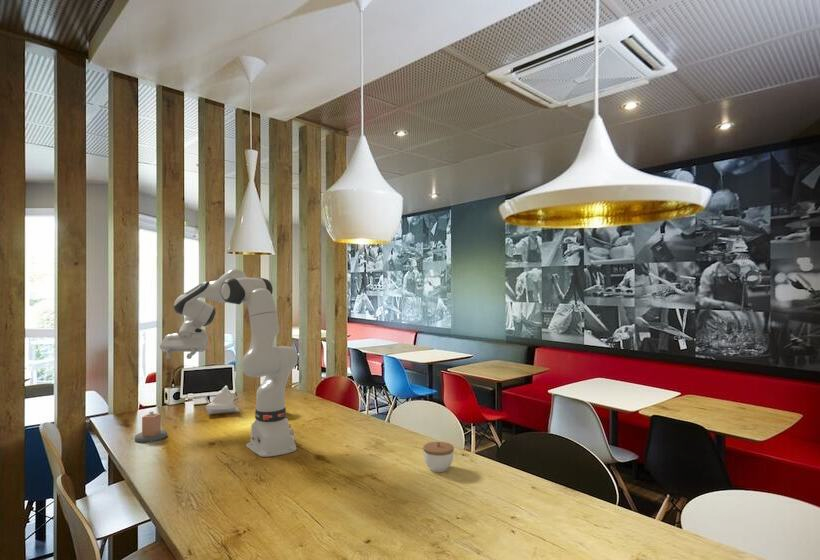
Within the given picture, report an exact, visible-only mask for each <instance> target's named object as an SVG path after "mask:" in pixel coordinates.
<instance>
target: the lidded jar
mask: <svg viewBox="0 0 820 560" xmlns="http://www.w3.org/2000/svg"><path fill="white" fill-rule="evenodd" d="M454 451H455V450H454V446H453V444H451V443H449V442H446V441H445V442H444V441H431V442H430V441H429V442H427V443H425V444H424V445H423V459H424V462H425V464H426V466H427V467H428V468H429V470H430V471H432V472H434V473H443V472H446V471H447V470H448V469H449V468H450V466H451V465H452V462H453V459H454Z"/></svg>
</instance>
